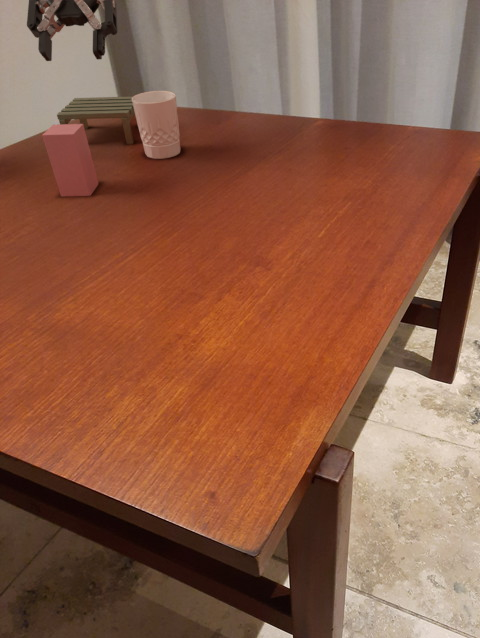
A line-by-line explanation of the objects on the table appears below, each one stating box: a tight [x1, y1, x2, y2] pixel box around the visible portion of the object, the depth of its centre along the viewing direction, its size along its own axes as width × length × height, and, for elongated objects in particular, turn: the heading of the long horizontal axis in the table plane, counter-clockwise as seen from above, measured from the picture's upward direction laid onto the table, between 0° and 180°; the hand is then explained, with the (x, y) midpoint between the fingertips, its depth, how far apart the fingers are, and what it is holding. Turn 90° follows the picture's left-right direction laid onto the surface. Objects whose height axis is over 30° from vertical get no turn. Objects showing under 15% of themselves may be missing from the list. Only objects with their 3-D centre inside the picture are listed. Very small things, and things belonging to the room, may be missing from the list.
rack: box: [56, 95, 135, 145], centre depth 113 cm, size 14×12×6 cm
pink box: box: [41, 123, 99, 197], centre depth 91 cm, size 5×5×10 cm
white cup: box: [132, 90, 182, 160], centre depth 103 cm, size 8×8×10 cm
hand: (71, 57), depth 91 cm, fingers open, 8 cm apart
